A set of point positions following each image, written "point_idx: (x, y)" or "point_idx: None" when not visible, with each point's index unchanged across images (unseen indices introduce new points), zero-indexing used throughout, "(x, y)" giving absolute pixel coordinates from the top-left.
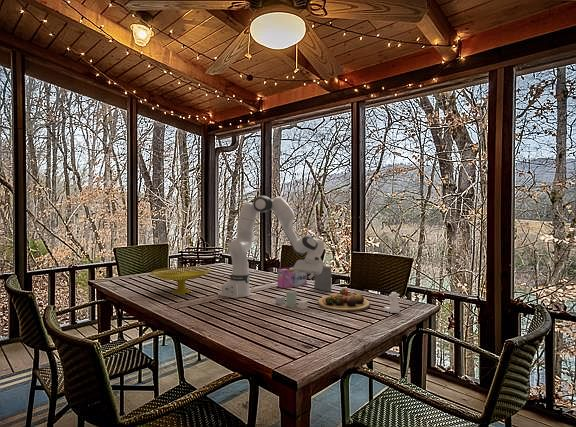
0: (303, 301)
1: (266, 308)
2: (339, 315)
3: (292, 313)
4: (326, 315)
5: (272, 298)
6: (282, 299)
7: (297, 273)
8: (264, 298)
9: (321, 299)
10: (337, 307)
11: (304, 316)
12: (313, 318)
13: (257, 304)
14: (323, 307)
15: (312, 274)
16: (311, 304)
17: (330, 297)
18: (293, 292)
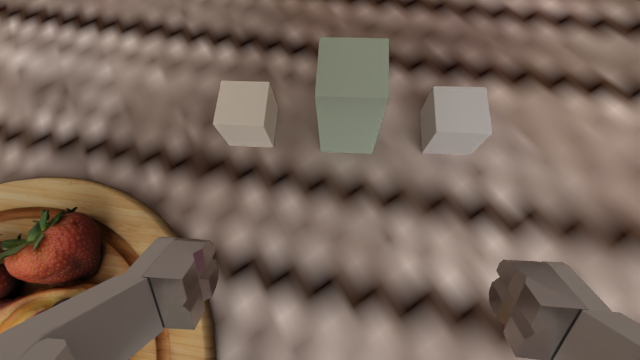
0: (236, 103)
1: (428, 8)
2: (4, 120)
3: (255, 17)
4: (75, 83)
5: (590, 203)
6: (430, 111)
7: (583, 309)
8: (635, 167)
9: (183, 348)
10: (12, 207)
11: (178, 13)
12: (126, 13)
13: (534, 34)
14: (124, 192)
15: (60, 321)
16: (238, 230)
17: (21, 245)
18: (318, 52)
